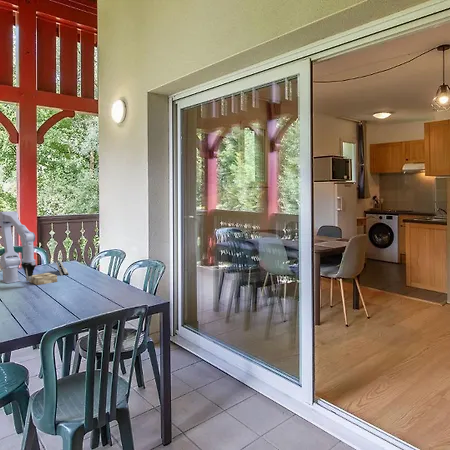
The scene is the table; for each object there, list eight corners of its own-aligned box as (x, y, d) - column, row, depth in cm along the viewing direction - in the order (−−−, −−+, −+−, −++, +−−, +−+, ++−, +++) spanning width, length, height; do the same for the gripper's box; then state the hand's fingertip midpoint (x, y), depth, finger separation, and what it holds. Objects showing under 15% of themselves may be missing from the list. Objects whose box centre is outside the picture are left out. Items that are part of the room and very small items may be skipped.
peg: (25, 280, 223) (24, 263, 222) (30, 279, 226) (30, 263, 225) (27, 281, 221) (27, 264, 220) (32, 280, 224) (32, 263, 223)
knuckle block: (29, 281, 235) (29, 275, 235) (48, 278, 244) (48, 272, 244) (37, 285, 228) (37, 278, 227) (57, 281, 237) (57, 275, 236)
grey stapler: (69, 274, 256) (63, 261, 254) (62, 277, 254) (56, 264, 252) (66, 270, 271) (61, 257, 269) (60, 273, 269) (54, 260, 267)
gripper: (40, 253, 220) (41, 276, 222) (29, 250, 230) (30, 272, 231) (28, 255, 215) (28, 278, 216) (17, 252, 224) (18, 274, 225)
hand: (28, 275), depth 223 cm, fingers closed on peg, 3 cm apart
